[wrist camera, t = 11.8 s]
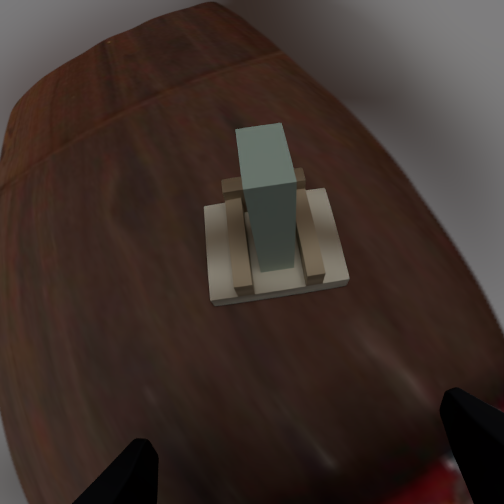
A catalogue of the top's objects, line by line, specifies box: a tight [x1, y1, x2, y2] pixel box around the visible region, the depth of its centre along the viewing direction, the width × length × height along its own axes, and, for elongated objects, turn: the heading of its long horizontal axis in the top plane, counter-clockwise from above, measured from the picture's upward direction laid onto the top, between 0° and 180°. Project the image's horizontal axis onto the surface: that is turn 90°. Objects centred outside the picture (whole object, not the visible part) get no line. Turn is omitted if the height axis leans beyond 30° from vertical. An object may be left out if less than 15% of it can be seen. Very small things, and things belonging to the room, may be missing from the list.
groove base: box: [204, 168, 349, 306], centre depth 23 cm, size 8×10×4 cm
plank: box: [235, 123, 297, 273], centre depth 19 cm, size 4×2×10 cm, turn 7°
